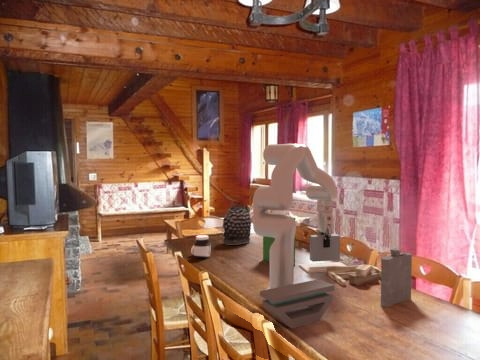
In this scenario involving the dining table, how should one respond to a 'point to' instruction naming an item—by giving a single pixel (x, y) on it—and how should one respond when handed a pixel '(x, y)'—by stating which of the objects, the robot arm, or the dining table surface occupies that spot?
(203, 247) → the spread jar
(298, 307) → the sharpening stone
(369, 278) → the walnut offcut
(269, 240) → the hardback book
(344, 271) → the rack
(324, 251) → the grey rectangular block
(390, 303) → the hip flask
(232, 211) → the bumpy dark dome
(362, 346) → the dining table surface
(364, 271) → the pine offcut
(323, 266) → the felt mat
